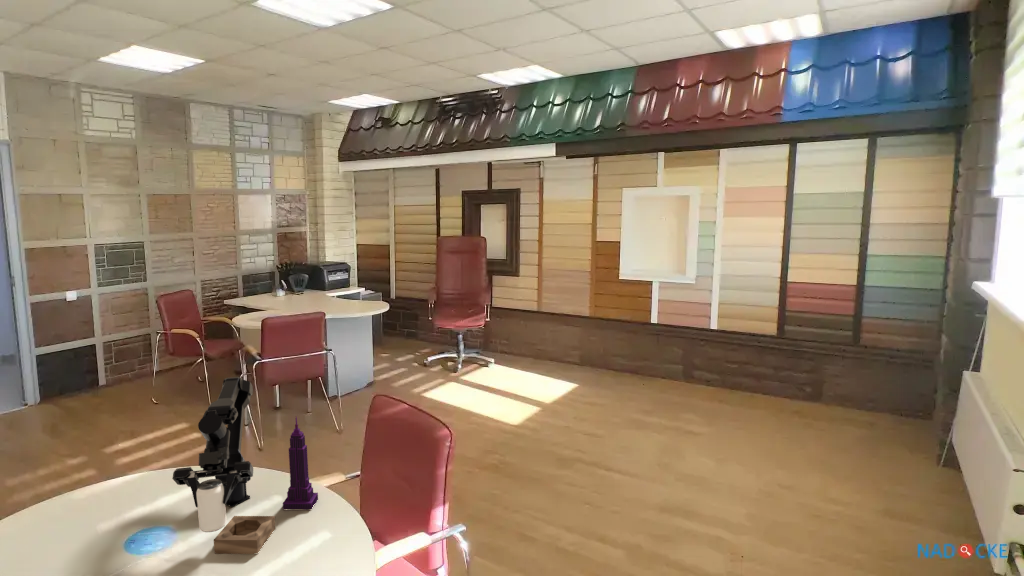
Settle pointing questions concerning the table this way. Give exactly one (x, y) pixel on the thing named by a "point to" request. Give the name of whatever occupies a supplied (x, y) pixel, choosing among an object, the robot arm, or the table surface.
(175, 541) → the table surface
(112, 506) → the table surface
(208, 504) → the can
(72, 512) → the table surface
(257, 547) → the socket block
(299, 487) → the building model
